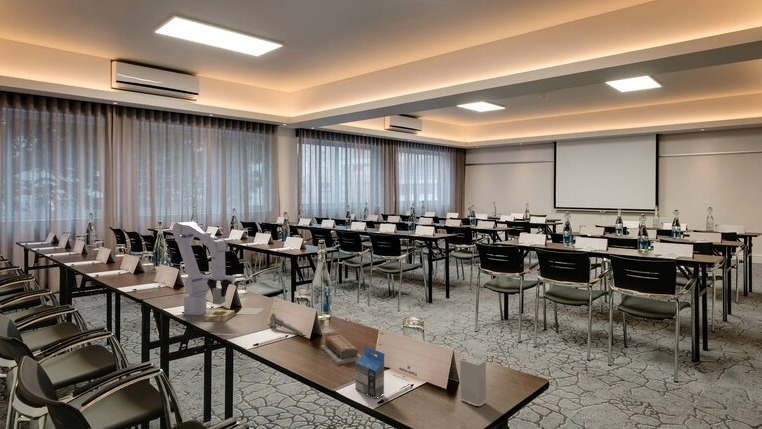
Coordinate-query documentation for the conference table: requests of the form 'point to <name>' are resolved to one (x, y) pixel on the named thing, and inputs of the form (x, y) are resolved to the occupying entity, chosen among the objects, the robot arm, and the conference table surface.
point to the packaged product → (340, 350)
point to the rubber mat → (250, 311)
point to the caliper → (283, 324)
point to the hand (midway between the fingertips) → (219, 296)
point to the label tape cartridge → (370, 373)
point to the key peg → (218, 295)
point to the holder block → (219, 315)
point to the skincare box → (473, 380)
